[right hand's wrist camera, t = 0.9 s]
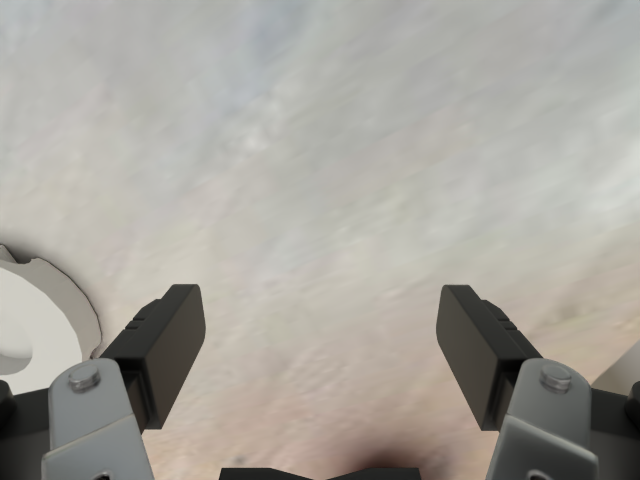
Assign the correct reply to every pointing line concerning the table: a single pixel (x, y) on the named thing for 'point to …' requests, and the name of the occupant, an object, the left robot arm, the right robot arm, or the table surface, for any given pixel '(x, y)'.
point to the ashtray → (41, 324)
